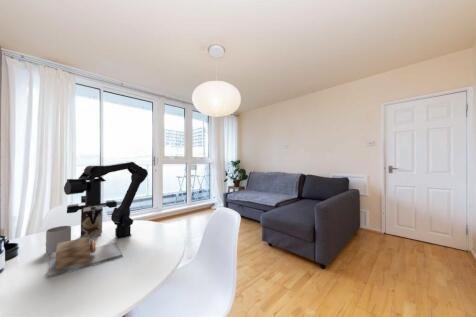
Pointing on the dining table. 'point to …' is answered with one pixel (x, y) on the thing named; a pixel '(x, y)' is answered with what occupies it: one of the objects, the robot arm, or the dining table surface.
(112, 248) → the wooden block on base
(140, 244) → the dining table surface
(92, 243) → the shaft
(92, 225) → the coffee box
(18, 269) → the dining table surface
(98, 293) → the dining table surface
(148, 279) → the dining table surface
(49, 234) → the cup
